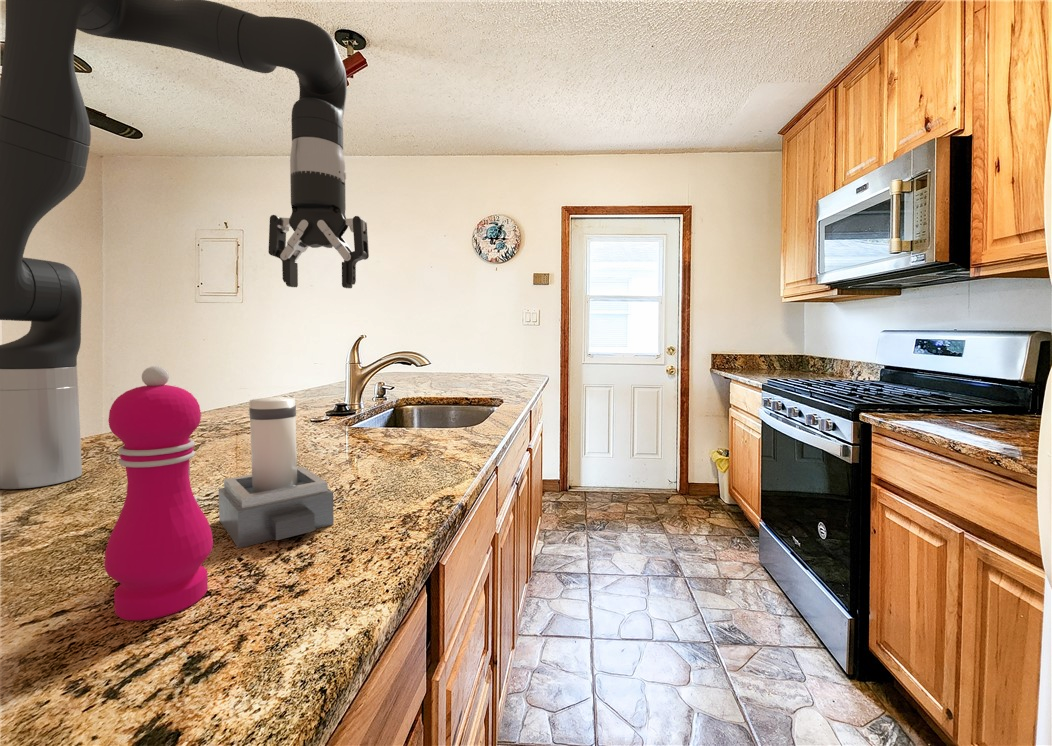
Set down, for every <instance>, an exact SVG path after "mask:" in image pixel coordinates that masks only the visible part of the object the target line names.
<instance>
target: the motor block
mask: <svg viewBox="0 0 1052 746" xmlns="http://www.w3.org/2000/svg"><path fill="white" fill-rule="evenodd" d="M218 513H219V514H218V516H219V522H220V524H221V525H222V526H224V527H223V528H224V529H225V531H226V532H227V534H228V536H230V539H232V541H233V542H234V545H236V547H237V548H238V549H242V548H246V547H249V546H253V545H256V544H257V545H258V544H261V543H266V542H270V541H273V540H275V541H280V540H283V539H287V538H288V539H289V538H292V537H296V536H299V535H303V534H307V533H311V532H315V530H317V529H321V528H326V527H329V526H334V525H333V524H334V522H335V521H334V519H335V517H334V491H332V490H330V489H329V488H328V482H327V481H326V480H324V479H323V478H322V477H320V476H318V475H316V473H313V472H312V471H310V470H308V469H307V468H306V467H304V466H297V485H296V486H291V487H285V488H280V489H274V490H269V491H264V492H258V493H253V491H252V474H247V475H242V476H235V477H229V478H224V479H223V487H220V488H218ZM325 526H326V527H325Z"/></svg>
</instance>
